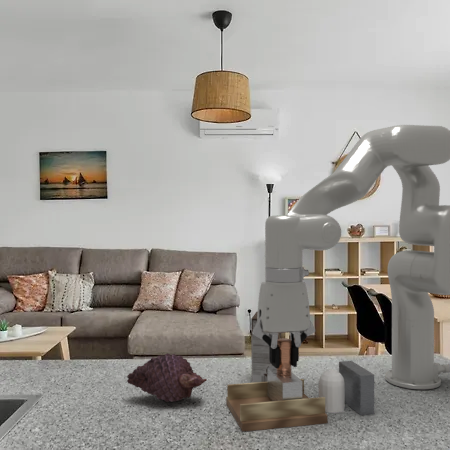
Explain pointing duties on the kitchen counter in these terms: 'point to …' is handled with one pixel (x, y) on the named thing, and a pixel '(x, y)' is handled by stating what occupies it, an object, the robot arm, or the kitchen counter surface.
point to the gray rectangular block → (358, 387)
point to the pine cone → (166, 378)
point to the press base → (272, 408)
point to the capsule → (332, 391)
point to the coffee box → (259, 355)
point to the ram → (283, 376)
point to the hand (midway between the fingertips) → (284, 364)
